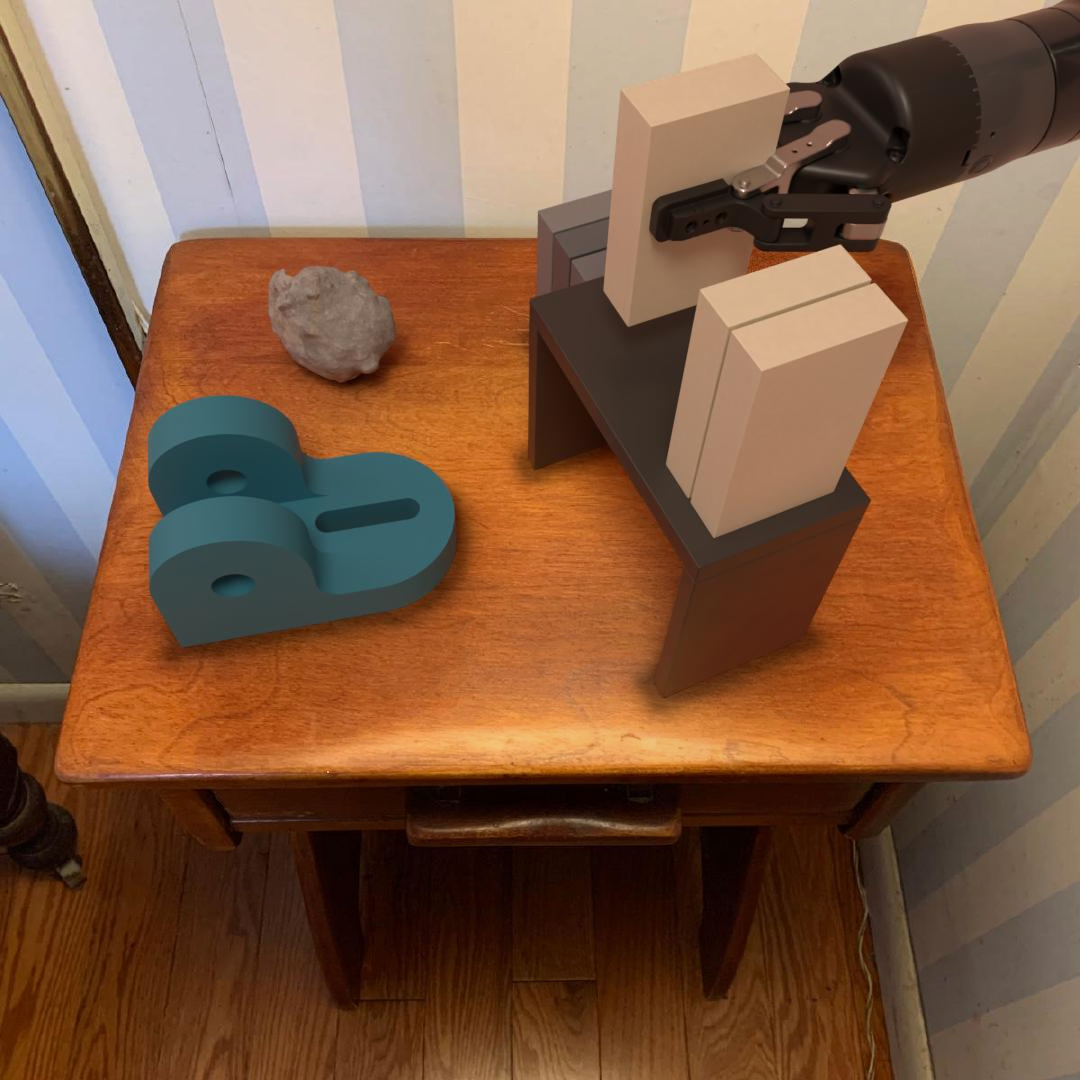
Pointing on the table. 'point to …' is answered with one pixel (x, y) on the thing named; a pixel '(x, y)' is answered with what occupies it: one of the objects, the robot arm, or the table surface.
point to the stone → (331, 321)
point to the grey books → (572, 242)
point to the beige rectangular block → (685, 178)
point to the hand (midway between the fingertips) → (638, 198)
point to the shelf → (642, 448)
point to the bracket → (283, 525)
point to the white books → (778, 386)
